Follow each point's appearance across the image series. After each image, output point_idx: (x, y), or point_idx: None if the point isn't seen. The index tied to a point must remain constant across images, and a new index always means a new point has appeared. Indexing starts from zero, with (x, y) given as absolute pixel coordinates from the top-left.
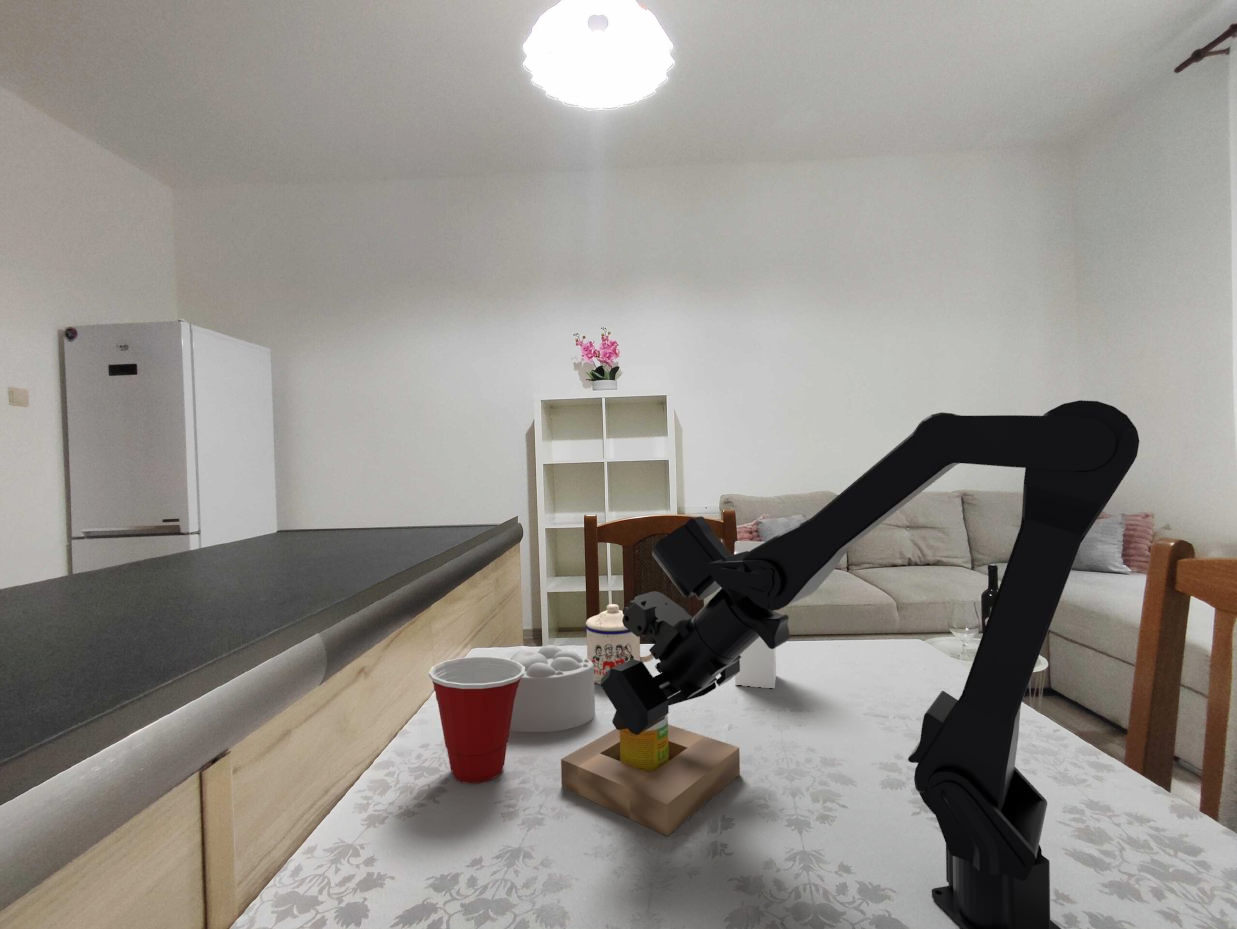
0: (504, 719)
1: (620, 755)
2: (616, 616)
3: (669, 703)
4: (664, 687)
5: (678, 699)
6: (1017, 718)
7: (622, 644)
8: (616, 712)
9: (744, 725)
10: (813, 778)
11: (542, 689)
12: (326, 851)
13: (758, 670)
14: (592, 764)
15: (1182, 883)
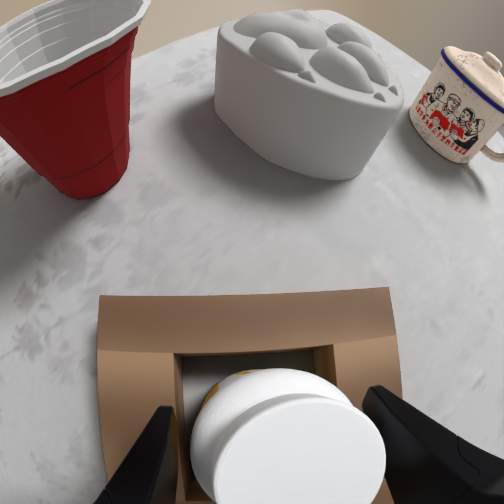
0: (47, 145)
1: (210, 392)
2: (492, 73)
3: (385, 470)
4: (417, 460)
5: (398, 501)
6: None
7: (475, 113)
8: (131, 450)
9: (491, 391)
10: None
11: (261, 86)
12: None
13: None
14: (123, 373)
15: None
